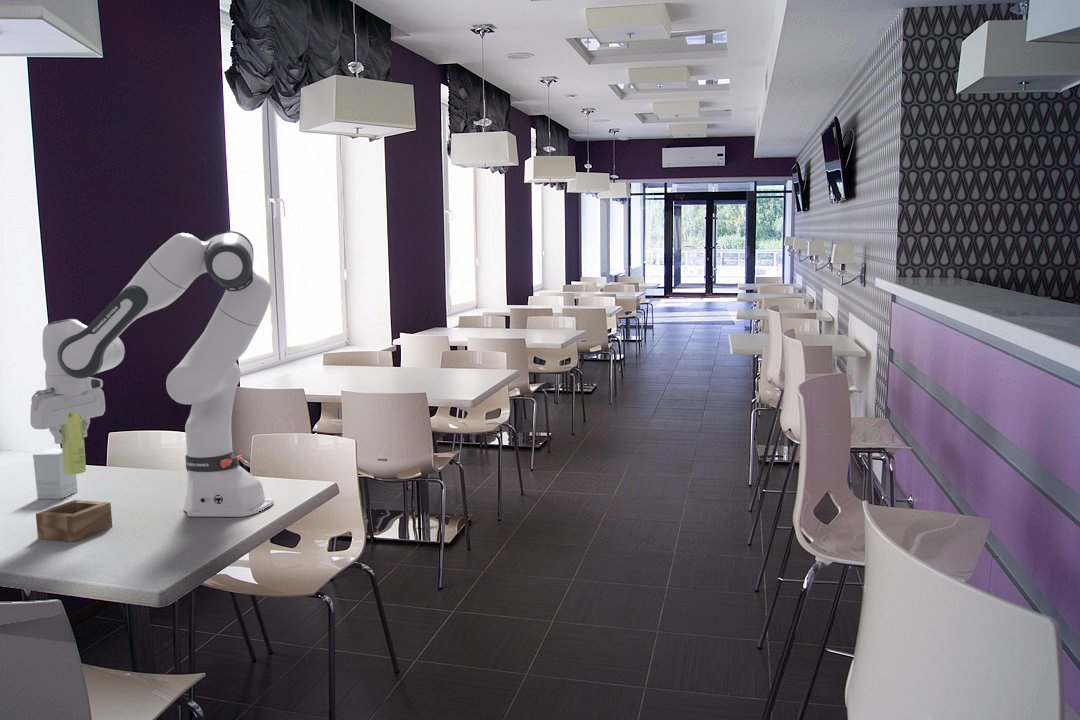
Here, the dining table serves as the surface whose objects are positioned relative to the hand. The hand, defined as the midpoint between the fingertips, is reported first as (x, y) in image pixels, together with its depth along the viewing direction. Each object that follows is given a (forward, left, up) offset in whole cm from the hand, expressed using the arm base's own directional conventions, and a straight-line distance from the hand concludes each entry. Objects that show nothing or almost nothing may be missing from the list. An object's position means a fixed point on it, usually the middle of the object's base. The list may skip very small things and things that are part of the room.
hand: (71, 440), depth 215 cm
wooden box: (-9, +10, -20) cm, 24 cm away
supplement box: (+22, -16, -20) cm, 34 cm away
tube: (0, 0, -8) cm, 8 cm away
